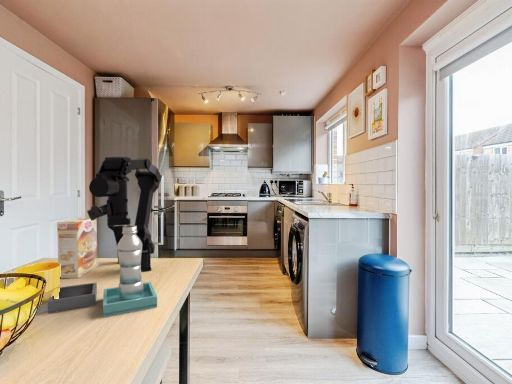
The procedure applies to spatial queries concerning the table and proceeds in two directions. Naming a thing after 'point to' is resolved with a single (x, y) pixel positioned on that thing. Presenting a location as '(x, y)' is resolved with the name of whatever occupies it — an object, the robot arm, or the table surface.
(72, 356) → the table surface
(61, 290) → the open frame
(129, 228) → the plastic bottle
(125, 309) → the tray
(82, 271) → the coffeecake box
